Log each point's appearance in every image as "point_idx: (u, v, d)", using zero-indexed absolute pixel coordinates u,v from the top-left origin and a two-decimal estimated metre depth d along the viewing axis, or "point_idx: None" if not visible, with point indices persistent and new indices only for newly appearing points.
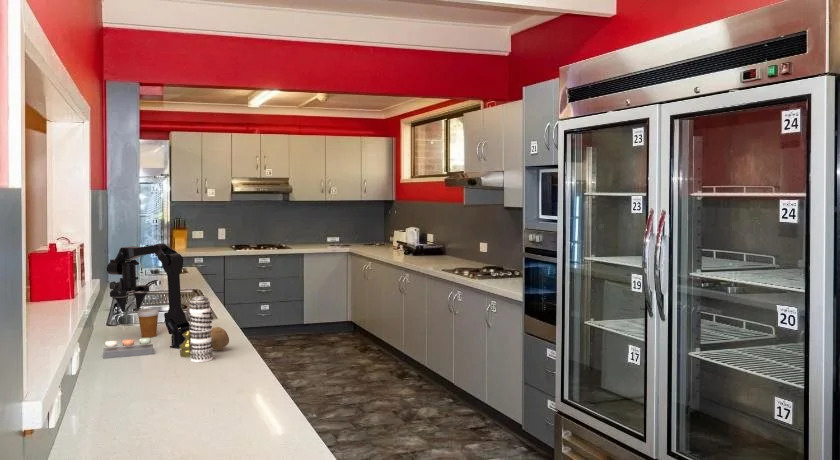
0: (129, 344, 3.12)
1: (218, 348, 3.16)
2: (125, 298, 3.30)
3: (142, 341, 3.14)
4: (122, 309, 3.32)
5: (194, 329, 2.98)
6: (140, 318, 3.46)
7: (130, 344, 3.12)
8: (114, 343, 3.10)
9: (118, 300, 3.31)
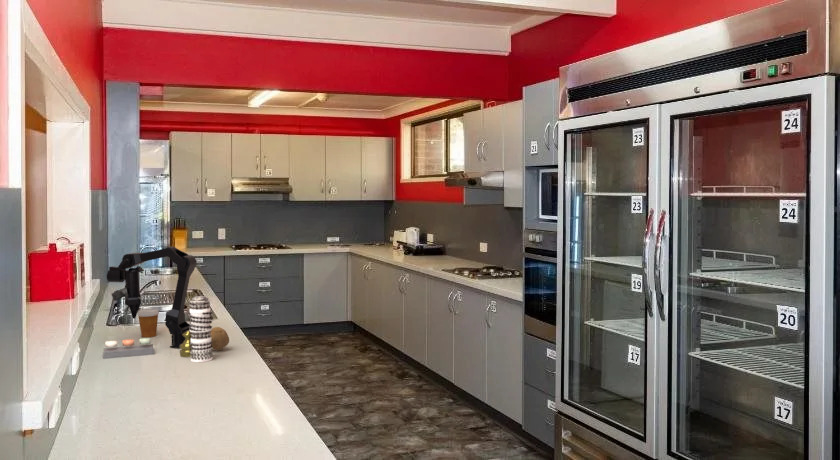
0: (129, 344, 3.12)
1: (218, 348, 3.16)
2: (140, 303, 3.28)
3: (142, 341, 3.14)
4: (134, 315, 3.28)
5: (194, 329, 2.98)
6: (140, 318, 3.46)
7: (130, 344, 3.12)
8: (114, 343, 3.10)
9: (131, 306, 3.27)
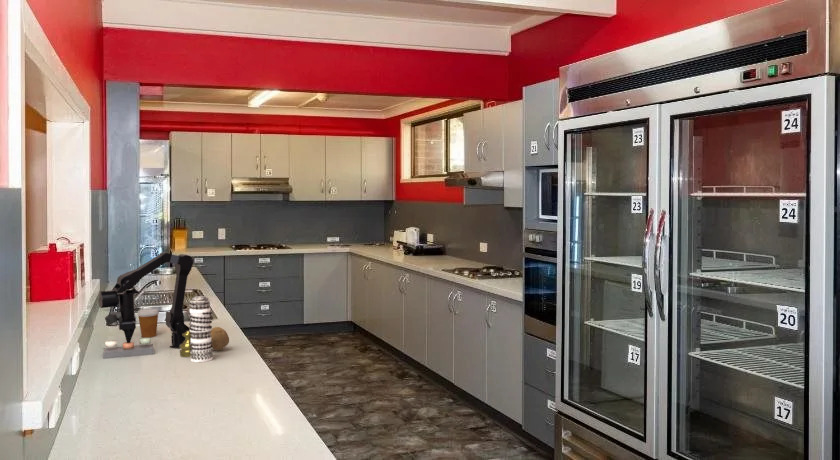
0: (129, 347, 3.12)
1: (218, 348, 3.16)
2: None
3: (142, 341, 3.14)
4: (128, 340, 3.13)
5: (194, 329, 2.98)
6: (140, 318, 3.46)
7: (130, 347, 3.12)
8: (114, 343, 3.10)
9: (125, 331, 3.11)
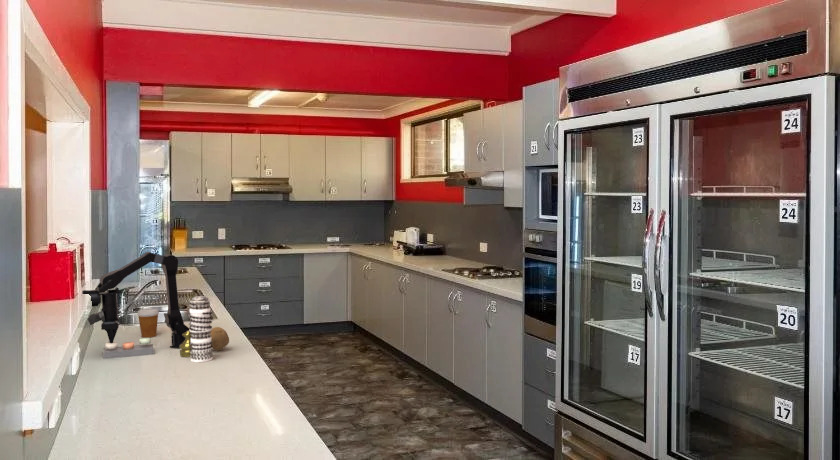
0: (129, 347, 3.12)
1: (218, 348, 3.16)
2: None
3: (142, 341, 3.14)
4: (111, 340, 3.11)
5: (194, 329, 2.98)
6: (140, 318, 3.46)
7: (130, 347, 3.12)
8: (114, 345, 3.10)
9: (108, 331, 3.09)
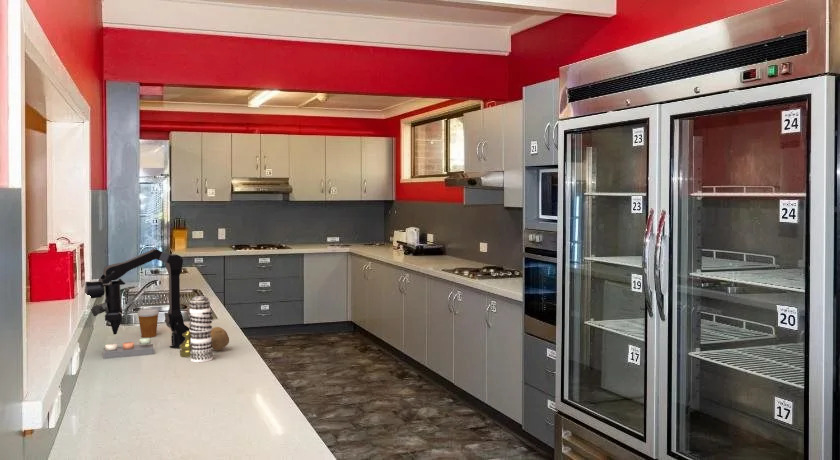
0: (129, 347, 3.12)
1: (218, 348, 3.16)
2: (121, 319, 3.11)
3: (142, 341, 3.14)
4: (115, 331, 3.11)
5: (194, 329, 2.98)
6: (140, 318, 3.46)
7: (130, 347, 3.12)
8: (114, 346, 3.10)
9: (111, 322, 3.09)
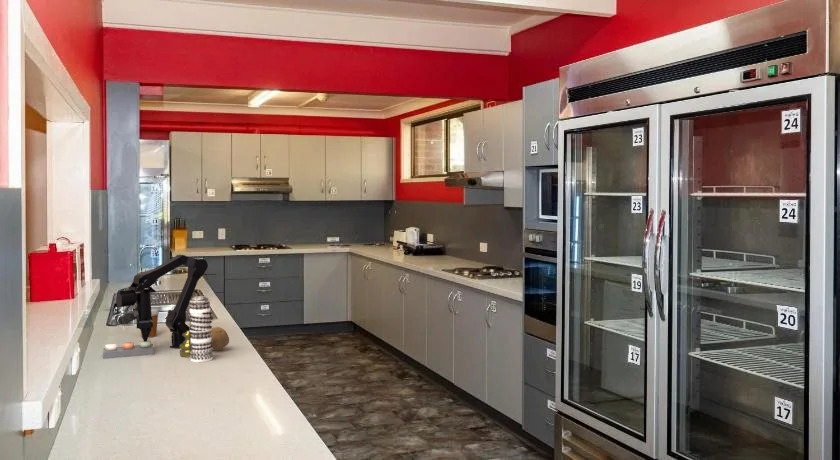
0: (129, 347, 3.12)
1: (218, 348, 3.16)
2: (152, 326, 3.15)
3: (142, 344, 3.14)
4: (145, 338, 3.15)
5: (194, 329, 2.98)
6: None
7: (130, 347, 3.12)
8: (114, 346, 3.10)
9: (142, 329, 3.14)
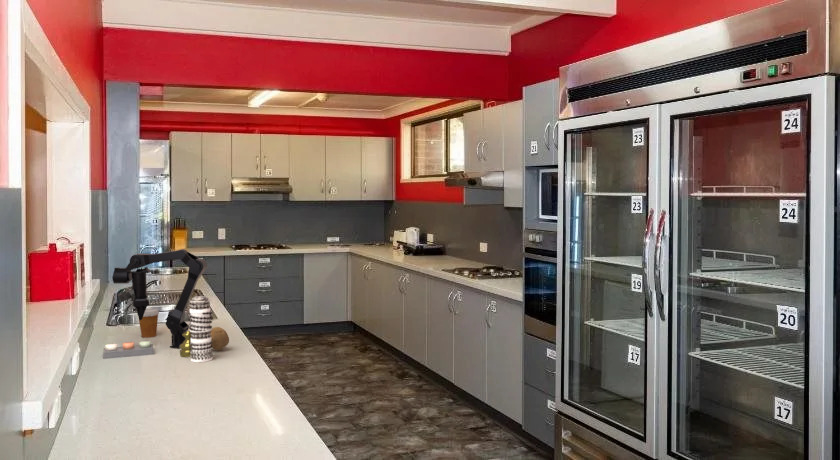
0: (129, 347, 3.12)
1: (218, 348, 3.16)
2: None
3: (142, 344, 3.14)
4: (140, 317, 3.25)
5: (194, 329, 2.98)
6: None
7: (130, 347, 3.12)
8: (114, 346, 3.10)
9: (138, 308, 3.23)
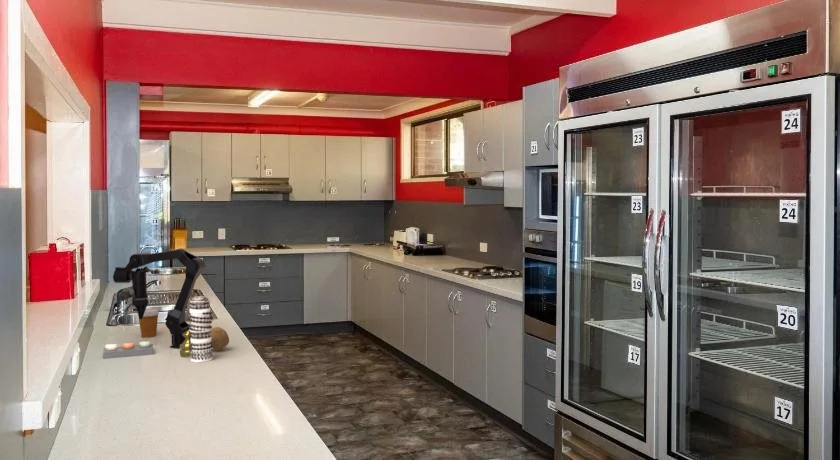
0: (129, 347, 3.12)
1: (218, 348, 3.16)
2: None
3: (142, 344, 3.14)
4: (140, 316, 3.27)
5: (194, 329, 2.98)
6: None
7: (130, 347, 3.12)
8: (114, 346, 3.10)
9: (138, 307, 3.25)
